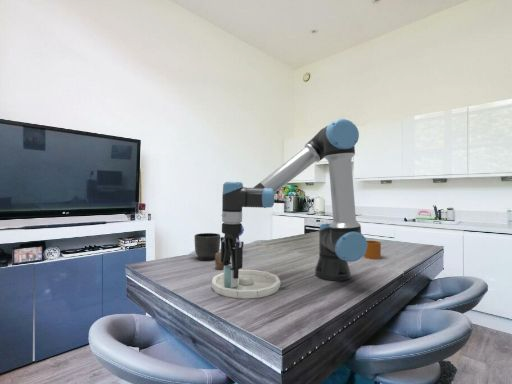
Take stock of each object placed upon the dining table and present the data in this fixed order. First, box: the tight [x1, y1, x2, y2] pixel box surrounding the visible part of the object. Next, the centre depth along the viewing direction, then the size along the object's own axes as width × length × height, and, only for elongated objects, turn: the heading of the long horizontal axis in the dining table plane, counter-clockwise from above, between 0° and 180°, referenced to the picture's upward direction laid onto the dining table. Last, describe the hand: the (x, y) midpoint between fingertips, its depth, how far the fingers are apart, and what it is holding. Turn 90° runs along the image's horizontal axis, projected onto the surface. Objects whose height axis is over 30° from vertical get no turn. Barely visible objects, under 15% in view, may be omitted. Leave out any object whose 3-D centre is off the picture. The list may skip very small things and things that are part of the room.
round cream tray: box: [211, 269, 281, 300], centre depth 107 cm, size 26×26×3 cm
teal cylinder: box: [224, 265, 237, 289], centre depth 103 cm, size 5×5×7 cm
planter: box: [194, 232, 221, 261], centre depth 150 cm, size 14×14×13 cm
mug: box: [363, 240, 382, 260], centre depth 157 cm, size 9×12×9 cm
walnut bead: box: [214, 252, 224, 271], centre depth 131 cm, size 5×5×7 cm
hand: (230, 284), depth 103 cm, fingers closed on teal cylinder, 5 cm apart
